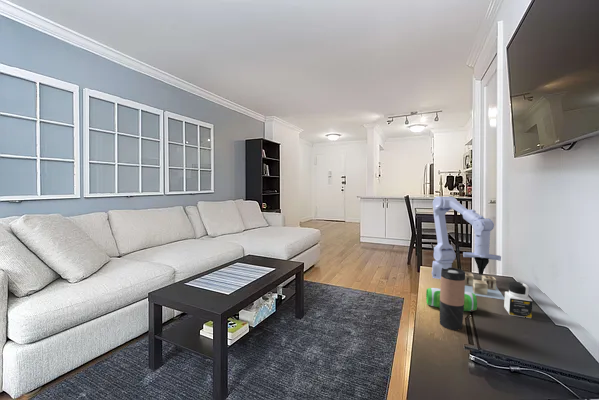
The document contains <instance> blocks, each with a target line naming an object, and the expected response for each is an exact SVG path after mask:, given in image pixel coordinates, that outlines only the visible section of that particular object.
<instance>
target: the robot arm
mask: <svg viewBox="0 0 599 400" xmlns="http://www.w3.org/2000/svg"><path fill="white" fill-rule="evenodd" d="M431 202H432V203H431V204H432V207H433V213H432V214H433V219H434V228H435V234H436V241H437V242H436V243H437V244H436V245H434V247H433V258H434V260H433V261H432V265H431V267H432V270H431V276H432V279H436V280H437V279H439V280H441V269H442V268H443V269H448V268H453V267H452V265H453V264H452V263H454V261H455V260H456V256H457V255H456V252H455V250H454V247H453V246H452V244H450V242H449V241H450V240H449V236H448V235H449V234H448V229H447V220H446V215H447V213H448V212H449V211H451V210H454V211H456V212H458V213H459V214H460V215H462V219H463V220H465V221H466V222H467V223H469V224H470V225H471V226H472V229H473V230H474V251H473V252H468V251H466V252H465V251H463V252H462V255H463V258H473V259H474V261H475V264H476V266H477V270H478V274H479V275H480V276H482V275H483V276H484V272H485V269H486V266H488V264H489V263H490V260H494V261H498V262H499V261H500V262H501V261H502V256H501V255H497V254H491V253H490V246H491V245H490V244H491V242H490V241H491V232H492V230H493V229H494V228H495V224H494V221H493V220H492V219H491V218H489V217H488V218H485V217H484V216H483V215H482V214H481V215H480V214H479V213H477V211H476V210H475V209H468V208H466V207H465V206H464V205H463V204H461V203H460V202H459V201H458V200H457V198H455V197H453V196H452V195H451V196H435V197H434V198H433V201H431Z"/></svg>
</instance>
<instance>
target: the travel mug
mask: <svg viewBox="0 0 599 400" xmlns="http://www.w3.org/2000/svg"><path fill="white" fill-rule="evenodd" d="M465 273H466V271H465V270H462V269H460V268H455V267H452V268H448V269H443V268H442V269H441V279H440V288H439V289H440V308H439V324H440V326H442V327H443V328H445V329H448V330H452V331H459V330H458V329H460V330H462V329H463V321H464V312H465V311H464V294H465ZM461 328H462V329H461Z"/></svg>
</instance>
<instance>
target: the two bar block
mask: <svg viewBox="0 0 599 400" xmlns="http://www.w3.org/2000/svg"><path fill="white" fill-rule="evenodd" d="M481 280H482V281H486V282H487V284H488V289H490V290H496V287H497V279H496V278H495V277H494V276H491V275H490V276H489V275H484V274H483V275H481Z"/></svg>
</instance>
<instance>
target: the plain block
mask: <svg viewBox="0 0 599 400" xmlns="http://www.w3.org/2000/svg"><path fill="white" fill-rule="evenodd" d="M487 290H488V284H487V282H486V281H482V279H481V280H480V279H475V278H474V279H473V292H474V293H475V294H482V295H487Z"/></svg>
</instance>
